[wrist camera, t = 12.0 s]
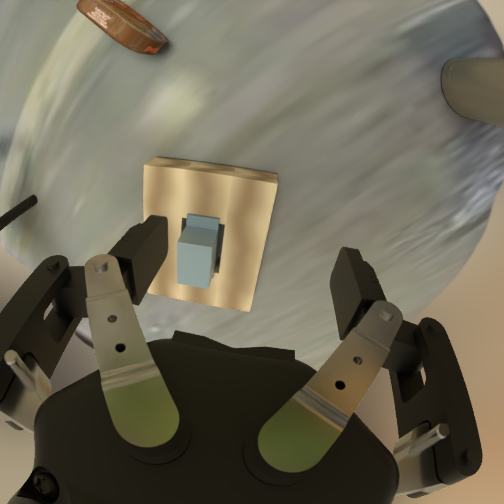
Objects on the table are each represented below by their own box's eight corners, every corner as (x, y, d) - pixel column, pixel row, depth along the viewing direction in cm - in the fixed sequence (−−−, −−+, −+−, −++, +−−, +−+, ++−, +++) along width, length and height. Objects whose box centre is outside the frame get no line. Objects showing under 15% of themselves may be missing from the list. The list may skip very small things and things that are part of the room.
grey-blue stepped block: (223, 206, 36) (213, 235, 29) (217, 262, 41) (208, 298, 34) (194, 202, 36) (177, 229, 29) (191, 258, 41) (177, 292, 34)
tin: (176, 45, 26) (151, 33, 19) (159, 62, 27) (129, 55, 20) (113, -6, 20) (81, -20, 13) (98, 10, 21) (63, 0, 14)
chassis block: (276, 173, 34) (277, 184, 31) (251, 292, 45) (249, 311, 41) (157, 156, 34) (144, 164, 30) (156, 275, 44) (148, 292, 40)
